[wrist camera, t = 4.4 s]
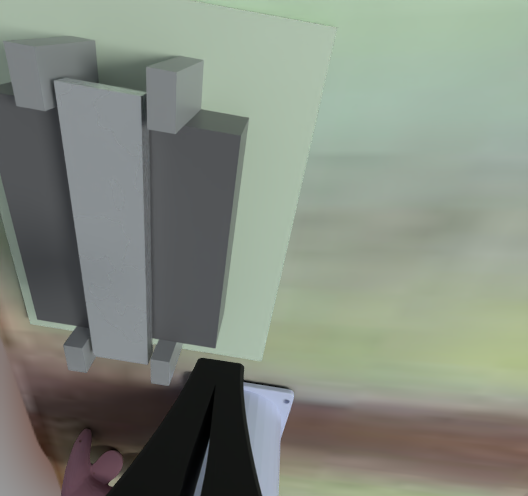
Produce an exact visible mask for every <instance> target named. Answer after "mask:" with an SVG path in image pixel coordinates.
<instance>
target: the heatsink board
mask: <svg viewBox="0 0 528 496" xmlns="http://www.w3.org/2000/svg"><path fill="white" fill-rule="evenodd" d="M336 32H337V27H332V26H326V25H321V24H316V23H310V22H305V21H299V20H294V19H289V18H283V17H278V16H272V15H267V14H262V13H256V12H251V11H246V10H240V9H235V8H229V7H224V6H219V5H213V4H208V3H203V2H197V1H192V0H0V214H1V218H2V221H3V225H4V229H5V232H6V236H7V240H8V243H9V247H10V251H11V254H12V258H13V262H14V265H15V269H16V273H17V276H18V280H19V284H20V288H21V291H22V295H23V299H24V302H25V306H26V310H27V313H28V317H29V321H30V324H34V325H40V326H46V327H52V328H58V329H64V330H71V331H73V332H72V334H71V335H70V336H69V338H68V339H67V341H66V342H65V344H64V345H63V346H64V351H65V356H66V360H67V365H68V370H72V371H78V372H85V373H87V371H88V369H89V368H90V366H91V364H92V363H93V361H94V359H95V358H96V356H93V349H92V342H91V335H90V328H89V321H88V314H87V307H86V301H85V294H84V287H83V280H82V273H81V266H80V259H79V252H78V245H77V238H76V232H75V225H74V218H73V211H72V204H71V197H70V190H69V183H68V176H67V169H66V163H65V156H64V149H63V142H62V135H61V128H60V121H59V114H58V107H57V100H56V93H55V87H54V80H58V79H62V78H71V79H77V80H82V81H88V82H94V83H99V84H105V85H110V86H116V87H121V88H127V89H133V90H138V91H144V92H146V93H147V129H149V145H150V212H151V279H152V344H157V345H156V347H155V350H154V352H153V355H152V357H151V383H154V384H160V385H166V386H169V384H170V381H171V378H172V375H173V372H174V369H175V367H176V364H177V361H178V358H179V355H180V352H181V349H188V350H194V351H200V352H207V353H213V354H219V355H225V356H231V357H237V358H244V359H250V360H256V361H262V357H263V352H264V348H265V344H266V339H267V335H268V330H269V326H270V322H271V317H272V313H273V308H274V304H275V300H276V295H277V291H278V287H279V282H280V278H281V273H282V269H283V265H284V260H285V256H286V251H287V247H288V243H289V238H290V234H291V229H292V225H293V221H294V216H295V212H296V207H297V203H298V199H299V194H300V190H301V186H302V181H303V177H304V172H305V168H306V164H307V159H308V155H309V150H310V146H311V142H312V137H313V133H314V128H315V124H316V120H317V115H318V111H319V106H320V102H321V98H322V93H323V89H324V85H325V80H326V76H327V71H328V67H329V63H330V58H331V54H332V49H333V45H334V41H335V36H336Z"/></svg>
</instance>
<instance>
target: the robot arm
mask: <svg viewBox="0 0 528 496" xmlns="http://www.w3.org/2000/svg"><path fill="white" fill-rule="evenodd" d="M243 378H244V366H243V365H242V364H240V363H233V362H227V361H220V360H213V359H207V358H200V359H198V360H197V363H196V365H195V367H194V369H193V371H192V373H191V375H190V377H189V379H188V381H187V383H186V385H185V387H184V388H183V390H182V392H181V393H180V395H179V397H178V398H177V400H176V402H175V403H174V405H173V406H172V408H171V409H170V411H169V412H168V414H167V416H166V417H165V419H164V420H163V422H162V423H161V425H160V426H159V427H158V429H157V430H156V432H155V433H154V434H153V436H152V437H151V439H150V440H149V441H148V443H147V444H146V445H145V447H144V448H143V450H142V451H141V452H140V454H139V455H138V456H137V458H136V459H135V460H134V461H133V463H132V464H131V465H130V467H129V468H128V469H127V470H126V472H125V473H124V474H123V475H122V477H121V478H120V479H119V480H118V481H117V483H116V484H115V485H114V486H113V487H112V489H111V490H110V491H109V492H108V493H107V494H106V496H279V467H280V439H281V436H282V433H283V430H284V427H285V424H286V421H287V418H288V415H289V412H290V409H291V406H292V403H293V399H294V392H293V391H292V390H289V389H284V388H278V387H271V386H265V385H259V384H253V383H246V382H243Z"/></svg>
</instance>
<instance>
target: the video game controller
mask: <svg viewBox="0 0 528 496" xmlns="http://www.w3.org/2000/svg"><path fill="white" fill-rule="evenodd" d="M91 442H92V435H91V431H90V429H84V430H83V431H82V432H81V433H80V434H79V436H78V438H77V439H76V441H75V443H74V445H73V448H72V451H71V454H70V457H69V460H68V463H67V466H66V470H65V475H64V480H63V485H62V491H61V496H106V494H107V493H108V492H109V491H110V490H111V489H112V487H111V486H109V485H108V483H109V482H110V481H111V480H112V479H114V478H115V477H116V476H117V475H118V474H119V472H120V471H121V469H122V466H123V457H122V455H121V454H120V452H118V451H115V450H110V451H107V452H105V453H104V454H103V455H102V456H101V457H100V458H99V459H98V460H97V461H96V462H95V463H94V464H91V463H90V450H91Z"/></svg>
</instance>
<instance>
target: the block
mask: <svg viewBox="0 0 528 496" xmlns="http://www.w3.org/2000/svg"><path fill="white" fill-rule="evenodd" d="M54 87H55V93H56V100H57V107H58V114H59V121H60V128H61V135H62V142H63V149H64V156H65V163H66V169H67V176H68V183H69V190H70V197H71V204H72V211H73V218H74V225H75V232H76V238H77V245H78V252H79V259H80V266H81V273H82V280H83V287H84V294H85V301H86V307H87V314H88V321H89V328H90V335H91V342H92V349H93V356H97V357H103V358H110V359H116V360H122V361H128V362H135V363H141V364H147V365H148V363H149V361H150V358H151V356H152V354H153V345H152V279H151V212H150V145H149V129H147V93H146V92H144V91H138V90H133V89H127V88H121V87H116V86H110V85H105V84H99V83H94V82H88V81H82V80H77V79H71V78H62V79H58V80H54Z"/></svg>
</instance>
